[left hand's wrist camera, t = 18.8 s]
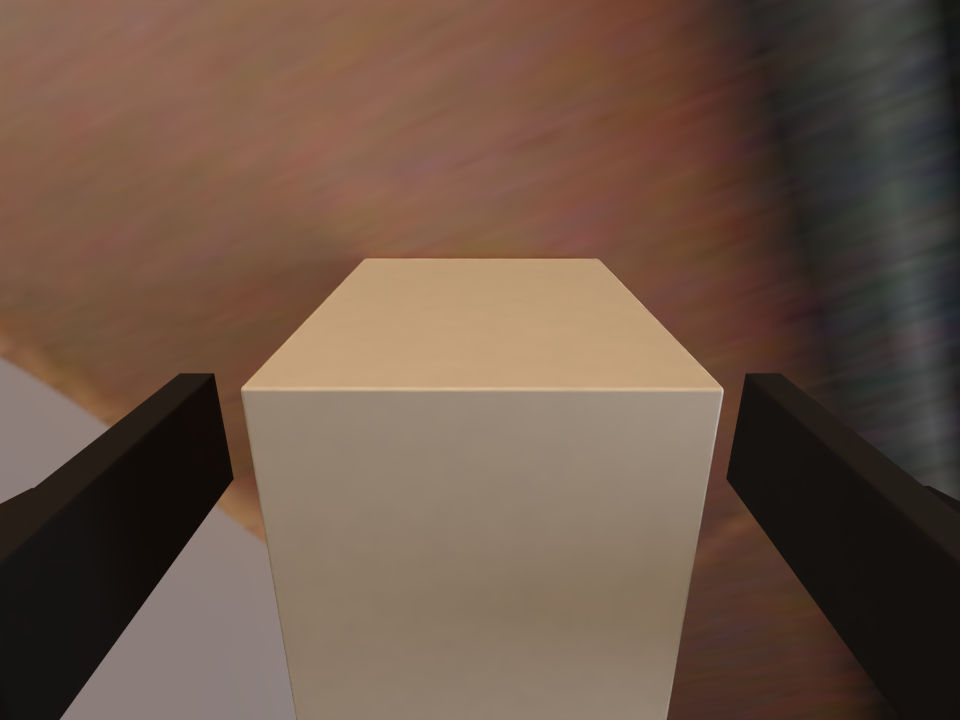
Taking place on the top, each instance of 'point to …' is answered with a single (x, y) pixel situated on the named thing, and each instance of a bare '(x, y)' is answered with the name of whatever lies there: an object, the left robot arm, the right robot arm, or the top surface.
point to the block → (481, 493)
